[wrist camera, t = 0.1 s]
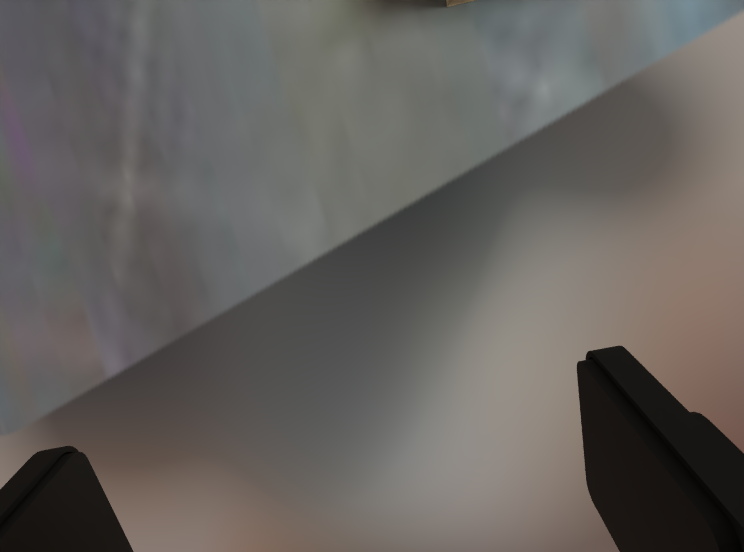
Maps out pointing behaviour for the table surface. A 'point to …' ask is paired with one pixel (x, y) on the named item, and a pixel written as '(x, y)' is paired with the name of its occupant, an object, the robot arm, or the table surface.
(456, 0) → the pegged square board
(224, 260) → the table surface
